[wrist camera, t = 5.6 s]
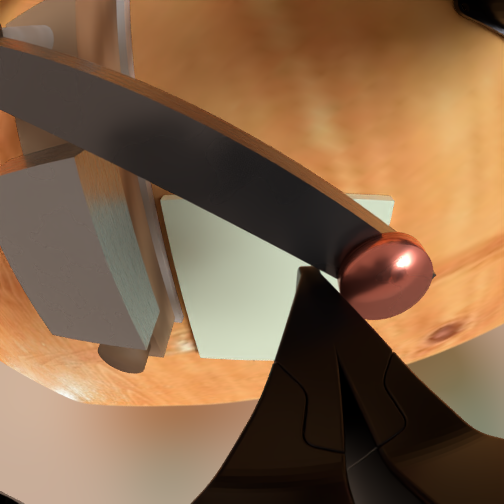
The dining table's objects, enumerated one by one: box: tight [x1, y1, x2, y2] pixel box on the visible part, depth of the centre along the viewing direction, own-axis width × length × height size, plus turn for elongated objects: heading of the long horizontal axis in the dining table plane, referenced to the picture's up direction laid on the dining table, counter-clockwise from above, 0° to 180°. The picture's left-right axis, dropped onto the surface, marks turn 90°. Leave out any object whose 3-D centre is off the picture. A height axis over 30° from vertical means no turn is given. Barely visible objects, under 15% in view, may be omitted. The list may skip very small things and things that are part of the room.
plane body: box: [2, 0, 184, 373], centre depth 12 cm, size 21×5×7 cm, turn 2°
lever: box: [0, 24, 436, 320], centre depth 5 cm, size 16×3×2 cm, turn 59°
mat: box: [160, 193, 394, 360], centre depth 18 cm, size 12×14×1 cm
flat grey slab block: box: [0, 143, 160, 350], centre depth 11 cm, size 6×9×2 cm, turn 2°
